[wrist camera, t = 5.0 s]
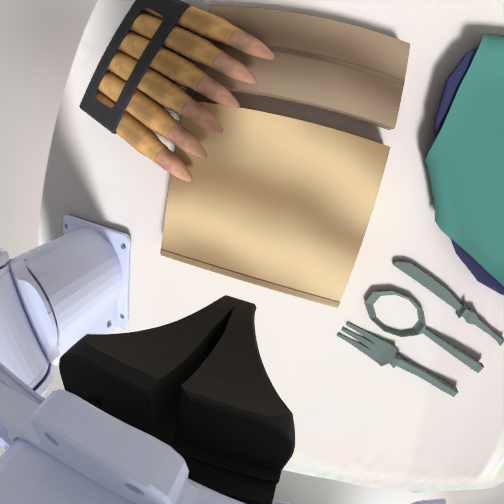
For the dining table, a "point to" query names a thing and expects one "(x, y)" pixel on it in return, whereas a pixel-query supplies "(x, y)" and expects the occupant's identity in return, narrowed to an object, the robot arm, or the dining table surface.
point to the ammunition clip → (160, 88)
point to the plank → (274, 202)
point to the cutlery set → (459, 200)
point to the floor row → (318, 63)
